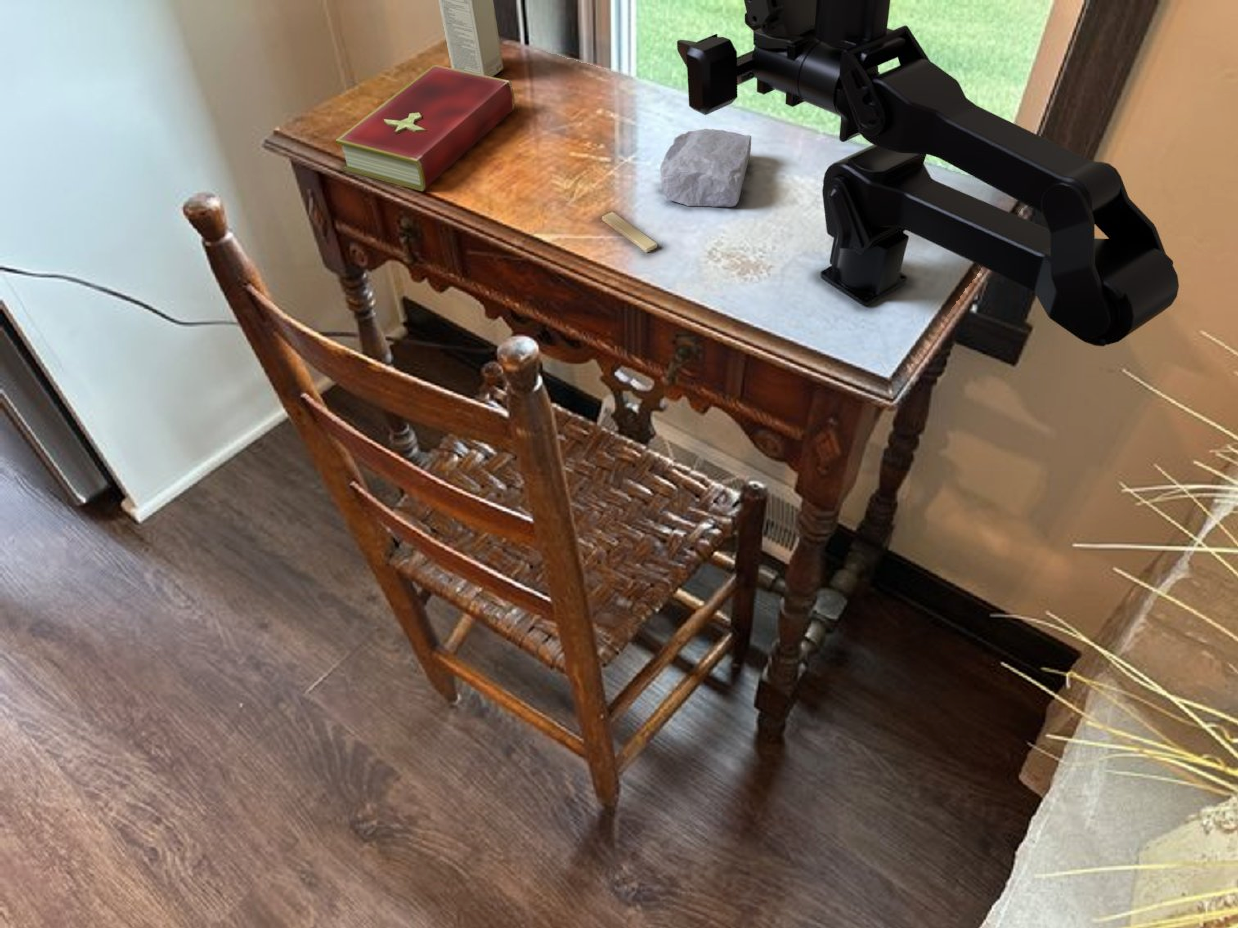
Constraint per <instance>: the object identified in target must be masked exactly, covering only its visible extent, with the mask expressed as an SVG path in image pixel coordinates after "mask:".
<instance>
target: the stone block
mask: <svg viewBox="0 0 1238 928" xmlns="http://www.w3.org/2000/svg"><path fill="white" fill-rule="evenodd" d="M751 150H752V135H750V134H747V135H746V134H743V133H737V132H734V131H727V130H724V129H714V128H711V129H710V128H702V129H698V130H690V131H687V132H685V133H680V134H679V135H678V136H676V137H674V139H673V143H672V145H670V147H669V148H668V149H667V152H666V153H665V155H664V156H663V159H662V163H661V164H660V168H659V169H660V187H661V190H662V192H663V194H664V196H665V197H666V199H668V201H670V202H671V201H672V202H674V203H678V204H681V205H684V206H687V207H714V208H716V207H719V208H723V207H726V208H733V207H736V206H737V204H738V203H739V200H740V196H741V192H742V189H743V185H744V181H745V176H746V174H747V173H746V172H747V167H748V164H749V162H750V156H751Z"/></svg>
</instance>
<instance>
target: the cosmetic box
mask: <svg viewBox="0 0 1238 928" xmlns="http://www.w3.org/2000/svg"><path fill="white" fill-rule="evenodd" d="M438 5H439V10H440V11H439V12H440V16H441V20H442V25H443V29H444V35H445V41H446V45H447V52H448V56H449V62H450V66H451V67H450V68H453V69H458V70H462V71H467V72H471V73H476V74H481V75H485V76H490V77H495V76H496V75H497V74H498V73H499V72H501V71H502V70H504V63H503V58H502V49H501V44H500V36H499V30H498V29H499V28H498V23H497V16H496V10H495V4H494V0H438Z"/></svg>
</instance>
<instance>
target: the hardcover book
mask: <svg viewBox="0 0 1238 928" xmlns="http://www.w3.org/2000/svg"><path fill="white" fill-rule="evenodd" d="M514 109H515V93H514V89H513V85H512V82H511V81H510V80H508V79H503V78H499V77H495V76H493V77H490V76H485V75H481V74H476V73H471V72H467V71H462V70H458V69H453V68H452V67H448V66H443V65H439V64H433V65H432V66H430V67H429V68H428V69H426V70H425V71H424V72H422V73H421V74H419V75H418V76H417V77H416V78H414V79H413V80H412V81H410V82H409V83H408V84H406V85H405V86H404V87H403V88H401V89H400V90H399V91H398V92H396V93H395V94H394V95H392V96H391V97H390V98H389V99H387V100H385V102H383V103H382V104H380V105H379V106H378V107H376V109H374V110H373V111H371V112H370V113H369V114H368V115H365V117H364V118H363V119H361V120H360V121H358V122H357V123H356V124H355V125H353V126H352V127H351V128H350V129H348V130H347V131H345V132H344V133H343V134H341V135H340V136H338V137H337V138H336V139H335V140H334V141H335V144H336V145H341V149H342V151H343V156H344V159H345V162H346V164H345V165H344V166H343V167H342V169H343V171H345V172H349V173H352V174H355V175H359V176H365V177H367V178H371V179H375V180H379V181H383V182H386V183H390V184H392V185H393V184H394V185H397V186H402V187H404V188H409V189H412V190H416V191H419V192H424V191H425V190H426V189H427V188H428V187H429V186H430V185H431V184H433V183H434V182H435V181H436V180H437V179H438V178H440V177H441V176H442V174H444V173H445V172H446V171H447V170H448V169H449V168H450V167H452V166H453V165H454V164H455V163H456V162H457V161H458V160H459V159H460V158H461V157H462V156H464V155H465V154H466V153H467V152H468V151H469V150H471V148H473V147H474V146H475V145H476V144H477V143H478V142H480V140H481V139H482V138H484V137H485V136H486V135H487V134H488V133H489V132H490V131H492V129H493V128H495V127H496V126H497V125H498V124H500V123H501V121H503V120H504V119H505V118H506V117H507V116H508V115H509V114H510V113H512V112H513V111H514Z"/></svg>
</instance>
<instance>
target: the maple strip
mask: <svg viewBox="0 0 1238 928" xmlns="http://www.w3.org/2000/svg"><path fill="white" fill-rule="evenodd" d="M601 219H602V221H603V222H604V223H606V224H607V225H608V226H610V227H611V228H612V229H614V230H615V231H616V232H618V233H619V234H620V235H622V236H623V237H625V238H626V240H627V239H628V241H630V242H631V243H633V244H634V245H636V246H637V247H638V248H640V249H641V250H643V252H645V253H649V252H651V251H653V250H655V249H658V243H657V242H655V241H654V240H653V239H651V238H650V237H648V236H647V235H645V234H644V232H642V231H640V230H639V229H637V228H636V227H635V226H634V225H631V223H629V222H627V220H626V219H623V218H622V217H621V216H619V215H618V214H616V213H615V212H614V211H611V212H609V213H607V214H604V215H603V216H601Z"/></svg>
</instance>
